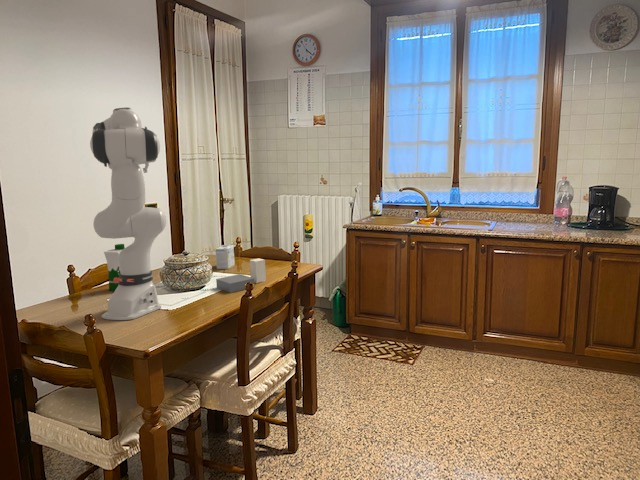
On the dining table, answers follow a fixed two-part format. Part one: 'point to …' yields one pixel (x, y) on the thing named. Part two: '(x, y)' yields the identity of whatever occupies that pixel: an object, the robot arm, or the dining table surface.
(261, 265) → the cream block
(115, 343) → the dining table surface
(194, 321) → the dining table surface
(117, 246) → the milk carton
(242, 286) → the block
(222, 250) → the light bulb box
